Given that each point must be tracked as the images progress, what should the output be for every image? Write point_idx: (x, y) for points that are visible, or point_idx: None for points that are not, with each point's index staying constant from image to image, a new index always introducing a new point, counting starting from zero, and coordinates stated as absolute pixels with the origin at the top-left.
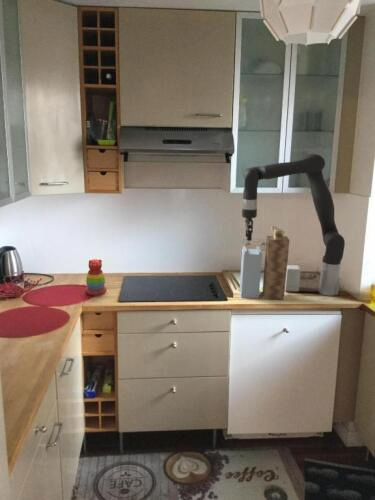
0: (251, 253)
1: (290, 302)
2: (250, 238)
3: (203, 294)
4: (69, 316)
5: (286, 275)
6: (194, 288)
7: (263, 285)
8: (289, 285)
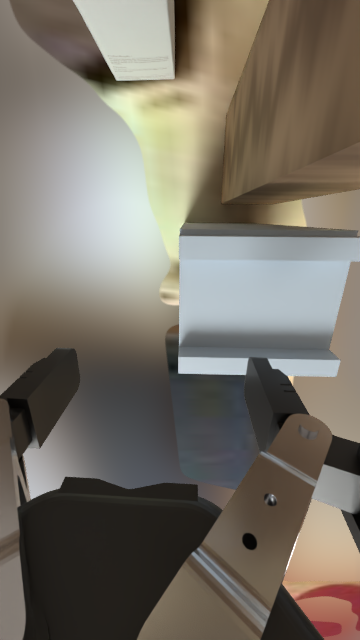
0: (317, 316)
1: None
2: (289, 384)
3: (223, 390)
4: (329, 585)
5: (157, 31)
6: (177, 410)
7: (241, 201)
8: (173, 41)
